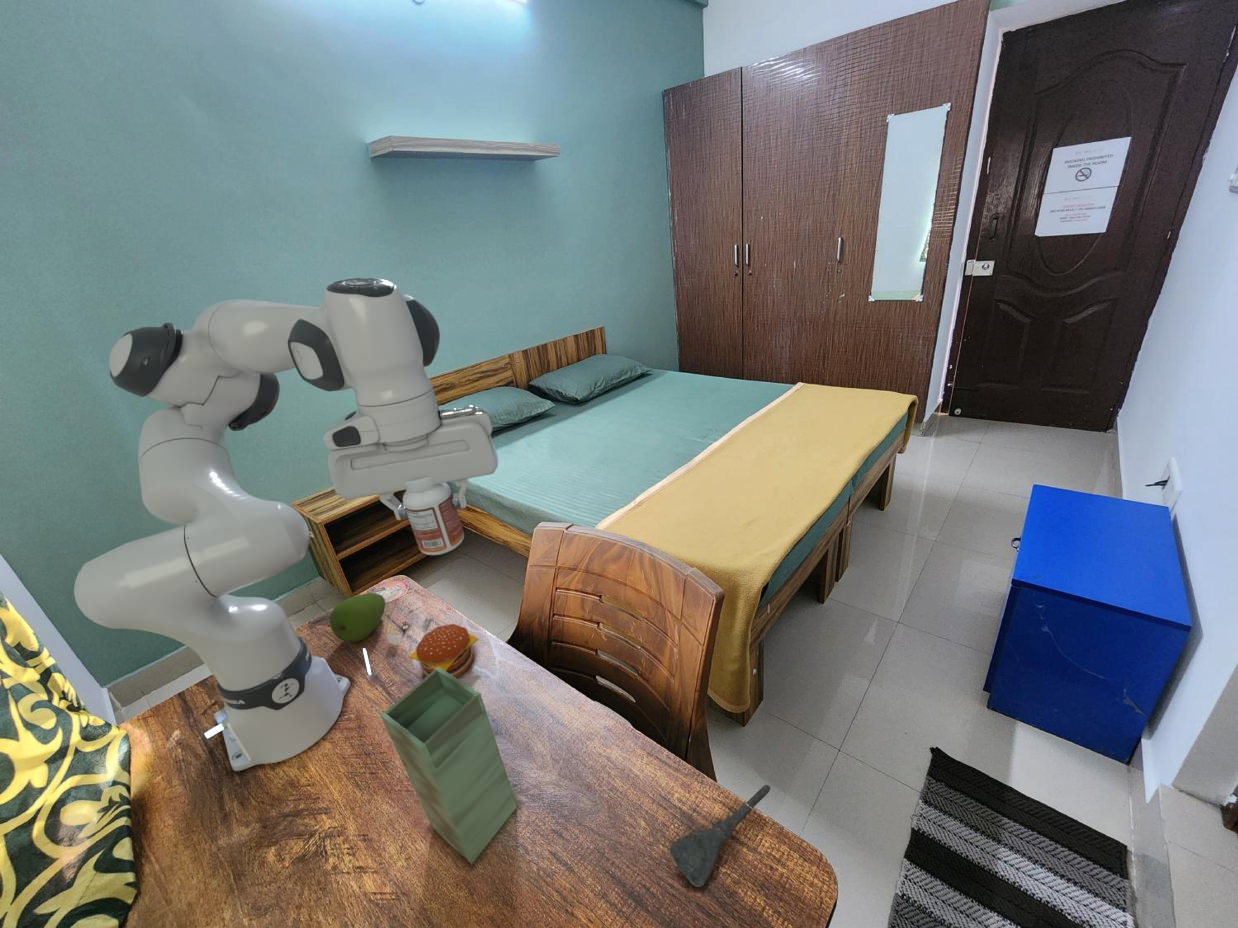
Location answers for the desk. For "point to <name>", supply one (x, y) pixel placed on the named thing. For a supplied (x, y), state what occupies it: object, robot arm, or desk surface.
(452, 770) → the holder
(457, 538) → the pill bottle
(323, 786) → the desk surface
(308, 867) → the desk surface
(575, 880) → the desk surface
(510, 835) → the desk surface
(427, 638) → the hamburger
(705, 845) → the artifact
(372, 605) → the green mango
